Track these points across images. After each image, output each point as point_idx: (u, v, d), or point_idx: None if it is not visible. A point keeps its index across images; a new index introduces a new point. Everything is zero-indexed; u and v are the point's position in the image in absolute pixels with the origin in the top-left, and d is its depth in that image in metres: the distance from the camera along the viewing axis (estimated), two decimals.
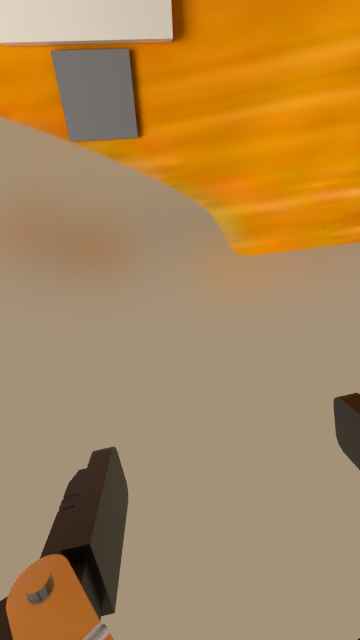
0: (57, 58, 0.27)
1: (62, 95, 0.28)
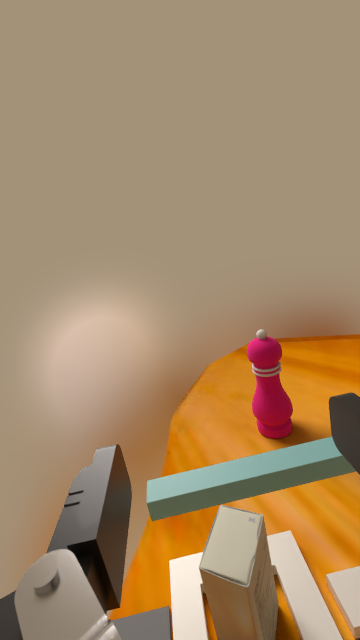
0: (163, 612, 0.31)
1: (139, 615, 0.31)
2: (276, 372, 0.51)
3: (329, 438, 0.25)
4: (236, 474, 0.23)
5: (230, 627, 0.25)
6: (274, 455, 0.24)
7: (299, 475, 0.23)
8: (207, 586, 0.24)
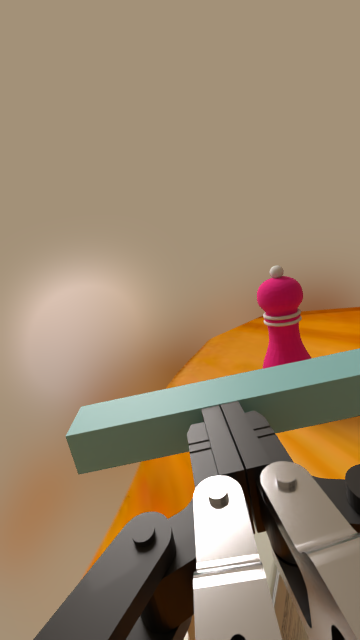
0: None
1: None
2: (295, 320, 0.39)
3: None
4: (245, 390, 0.12)
5: None
6: (317, 363, 0.13)
7: None
8: None
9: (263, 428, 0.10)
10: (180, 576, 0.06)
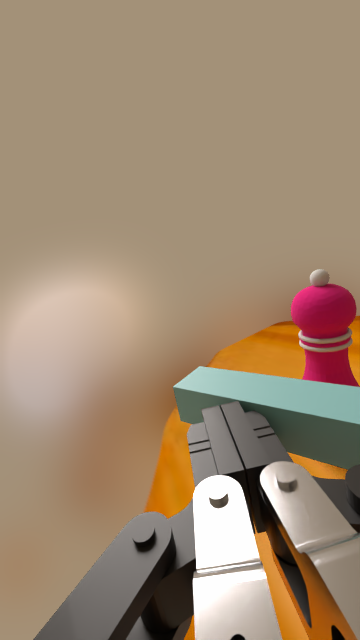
0: None
1: None
2: (346, 344, 0.29)
3: None
4: (357, 412, 0.09)
5: None
6: None
7: None
8: None
9: (263, 428, 0.10)
10: (180, 576, 0.06)
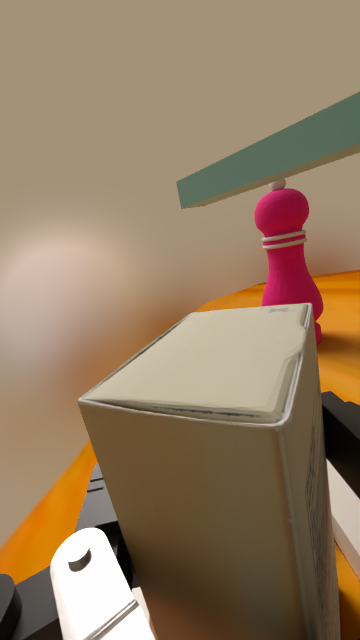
0: None
1: None
2: (300, 239, 0.33)
3: None
4: None
5: None
6: None
7: None
8: (114, 480, 0.06)
9: None
10: None
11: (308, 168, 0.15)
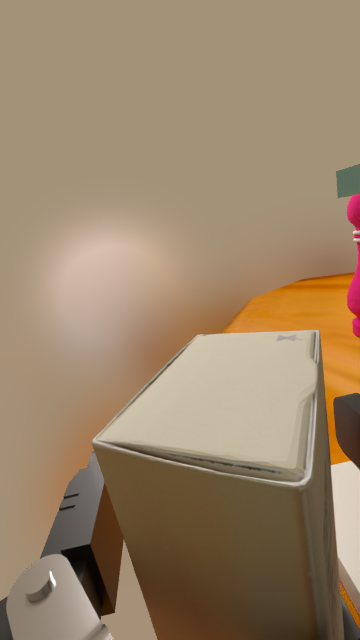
0: None
1: None
2: None
3: None
4: None
5: None
6: None
7: None
8: (128, 520, 0.06)
9: None
10: None
11: None
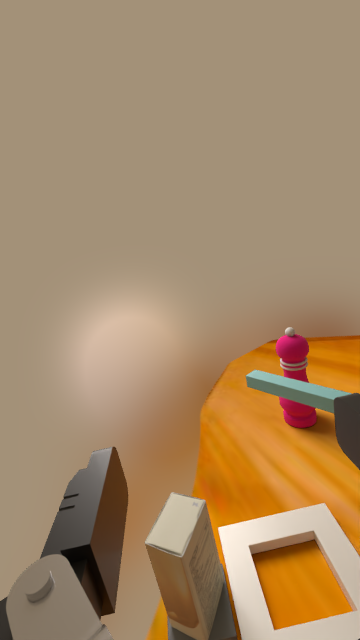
0: None
1: None
2: (303, 366, 0.56)
3: None
4: (293, 386, 0.38)
5: (173, 595, 0.29)
6: (325, 389, 0.36)
7: (329, 405, 0.34)
8: (152, 559, 0.28)
9: None
10: None
11: None
